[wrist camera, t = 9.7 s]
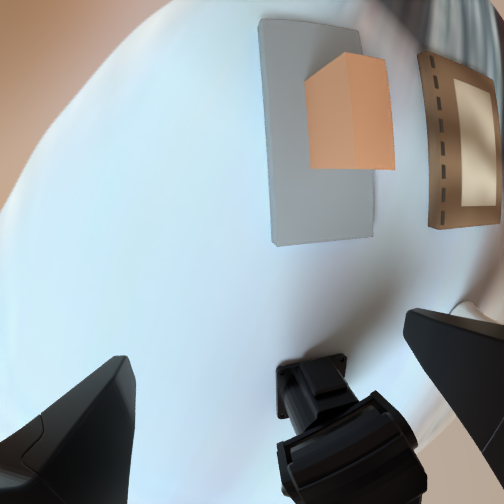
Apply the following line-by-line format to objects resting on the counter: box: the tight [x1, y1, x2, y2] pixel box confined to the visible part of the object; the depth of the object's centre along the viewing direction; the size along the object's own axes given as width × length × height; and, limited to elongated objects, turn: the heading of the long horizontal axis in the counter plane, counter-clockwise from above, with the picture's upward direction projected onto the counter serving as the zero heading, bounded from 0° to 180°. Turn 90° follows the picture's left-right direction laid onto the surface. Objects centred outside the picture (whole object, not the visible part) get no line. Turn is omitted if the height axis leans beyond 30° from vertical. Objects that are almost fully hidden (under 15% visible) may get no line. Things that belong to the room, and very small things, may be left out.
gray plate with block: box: [258, 18, 395, 247], centre depth 16 cm, size 16×7×8 cm, turn 4°
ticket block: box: [417, 51, 502, 230], centre depth 21 cm, size 16×11×2 cm
